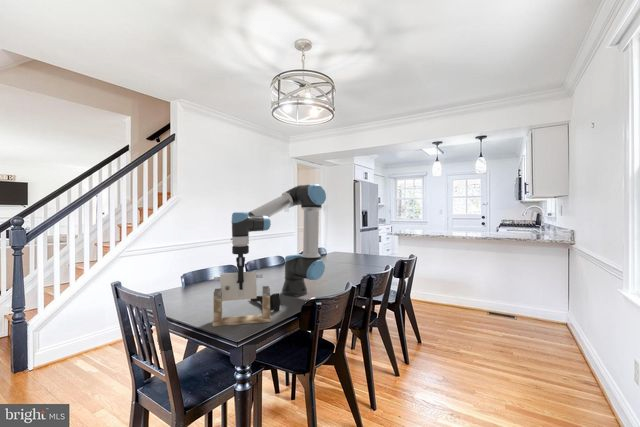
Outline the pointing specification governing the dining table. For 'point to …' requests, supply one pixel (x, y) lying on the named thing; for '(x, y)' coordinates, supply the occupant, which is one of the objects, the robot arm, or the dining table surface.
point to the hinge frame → (235, 320)
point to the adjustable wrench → (271, 301)
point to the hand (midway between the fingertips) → (241, 294)
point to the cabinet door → (231, 286)
